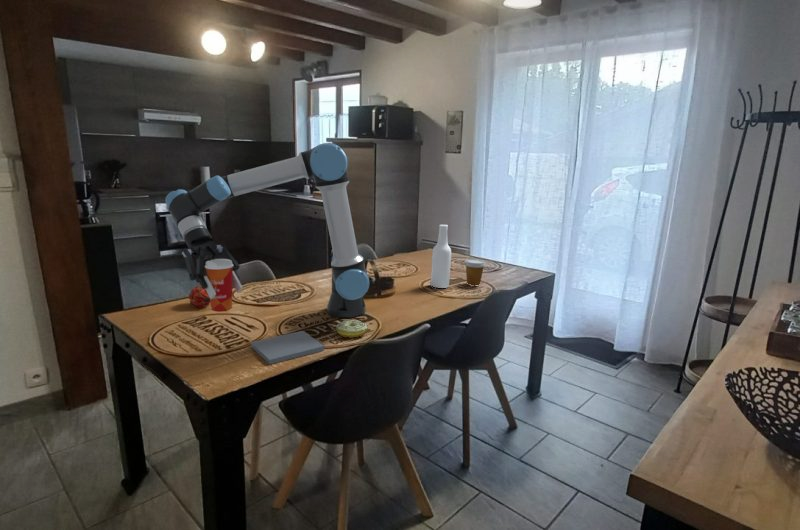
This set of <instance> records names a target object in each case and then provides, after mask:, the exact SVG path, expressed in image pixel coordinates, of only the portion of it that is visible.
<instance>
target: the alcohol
mask: <svg viewBox="0 0 800 530" xmlns="http://www.w3.org/2000/svg"><path fill="white" fill-rule="evenodd" d="M438 226H439V227H438V229H439V231H438V236H437V243H436V245H434V246H433V248H432V257H431V274H430V276H431V277H430V286H431V287H432V286H433V287H438V288H446V287H448V286H450V276H451V263H452V248H451V247H450V246H449V243H448V237H449V236H448V229H449V228H448V226H449V225H448V224H439V225H438ZM433 287H432V288H433ZM448 288H449V287H448ZM446 289H447V288H446Z"/></svg>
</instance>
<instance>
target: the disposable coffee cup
mask: <svg viewBox="0 0 800 530" xmlns="http://www.w3.org/2000/svg"><path fill="white" fill-rule="evenodd" d="M464 264H465V269H466V273H465V274H466V275H465V276H466V284H467V283H468V284H471V285H479V284H480V285H481V281H482V276H483V271H484V267H485V266H486V264H485V261H484V260H483V259H482V260H481V259H476V258H475V259H474V258H472V259H471V258H470V259H466V261H465V263H464Z"/></svg>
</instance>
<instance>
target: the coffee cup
mask: <svg viewBox="0 0 800 530" xmlns="http://www.w3.org/2000/svg"><path fill="white" fill-rule="evenodd" d="M233 266H234V265H233V264H232V261H231V260H229V259H214V260H212V259H210V260H209V259H208V260H207V261H205V265H204V269H205V271H206V276H207V277H208V279H209V281H210V283H211V285H212V287H213V289H214V291H215V293H216V295H215V296H214V298H213V299H210V303H211V304H210V308H211V311H214V312H217V313H218V312H227V311H230V310H232V308H233V284H232V270H233Z"/></svg>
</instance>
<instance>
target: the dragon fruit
mask: <svg viewBox="0 0 800 530" xmlns="http://www.w3.org/2000/svg"><path fill="white" fill-rule="evenodd" d="M188 299H189V303H190V305H191V306H196V307H197V308H198V309H205V307H204V306H210V305H211V303H210V297H209V295H208V293H207V291H206V289H203V288H202V287H201V285H197V286H195V287H193V288H192V289H191V290H190V293H189V294H188Z"/></svg>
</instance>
